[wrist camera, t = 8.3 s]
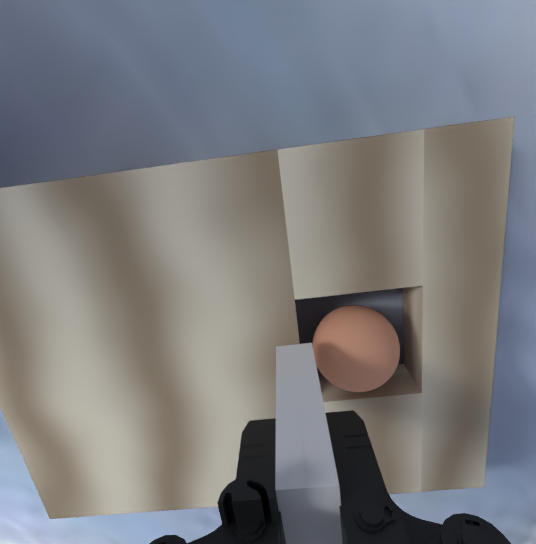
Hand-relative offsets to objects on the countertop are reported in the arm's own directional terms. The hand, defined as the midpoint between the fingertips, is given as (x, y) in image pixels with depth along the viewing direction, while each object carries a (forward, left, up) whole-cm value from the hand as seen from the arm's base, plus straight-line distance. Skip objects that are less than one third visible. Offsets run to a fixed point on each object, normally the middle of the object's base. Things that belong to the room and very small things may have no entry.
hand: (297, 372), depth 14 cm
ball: (+1, 0, -3) cm, 3 cm away
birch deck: (-3, 0, -4) cm, 5 cm away
